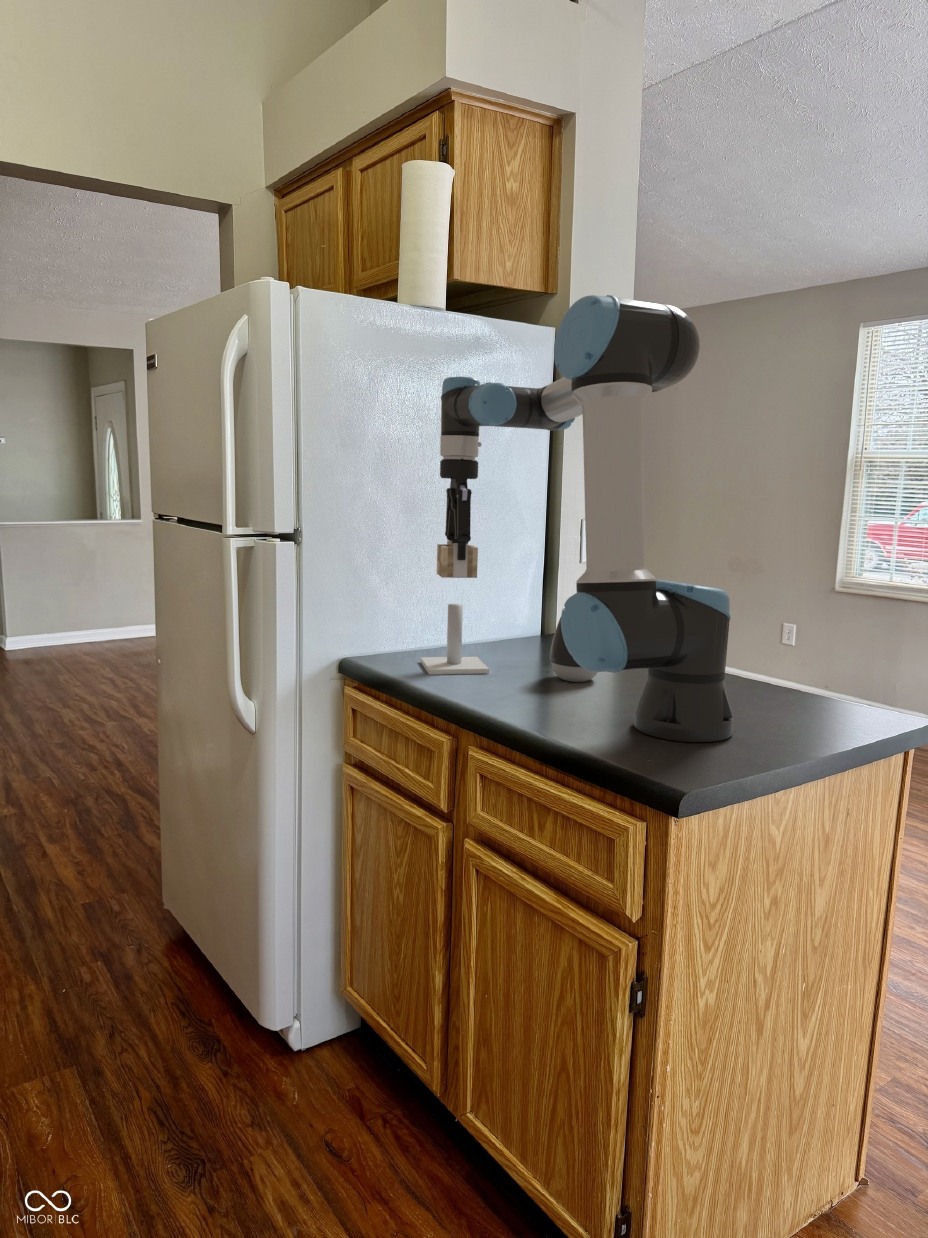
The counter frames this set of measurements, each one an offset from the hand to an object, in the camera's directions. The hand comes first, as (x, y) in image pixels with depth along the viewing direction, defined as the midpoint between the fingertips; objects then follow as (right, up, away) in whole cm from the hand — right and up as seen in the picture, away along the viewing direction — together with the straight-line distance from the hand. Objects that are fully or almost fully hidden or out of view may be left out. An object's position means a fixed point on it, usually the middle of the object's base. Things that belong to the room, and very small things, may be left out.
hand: (456, 574), depth 177 cm
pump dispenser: (+23, -21, -4) cm, 32 cm away
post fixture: (-1, -19, +3) cm, 19 cm away
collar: (0, 0, 0) cm, 0 cm away
